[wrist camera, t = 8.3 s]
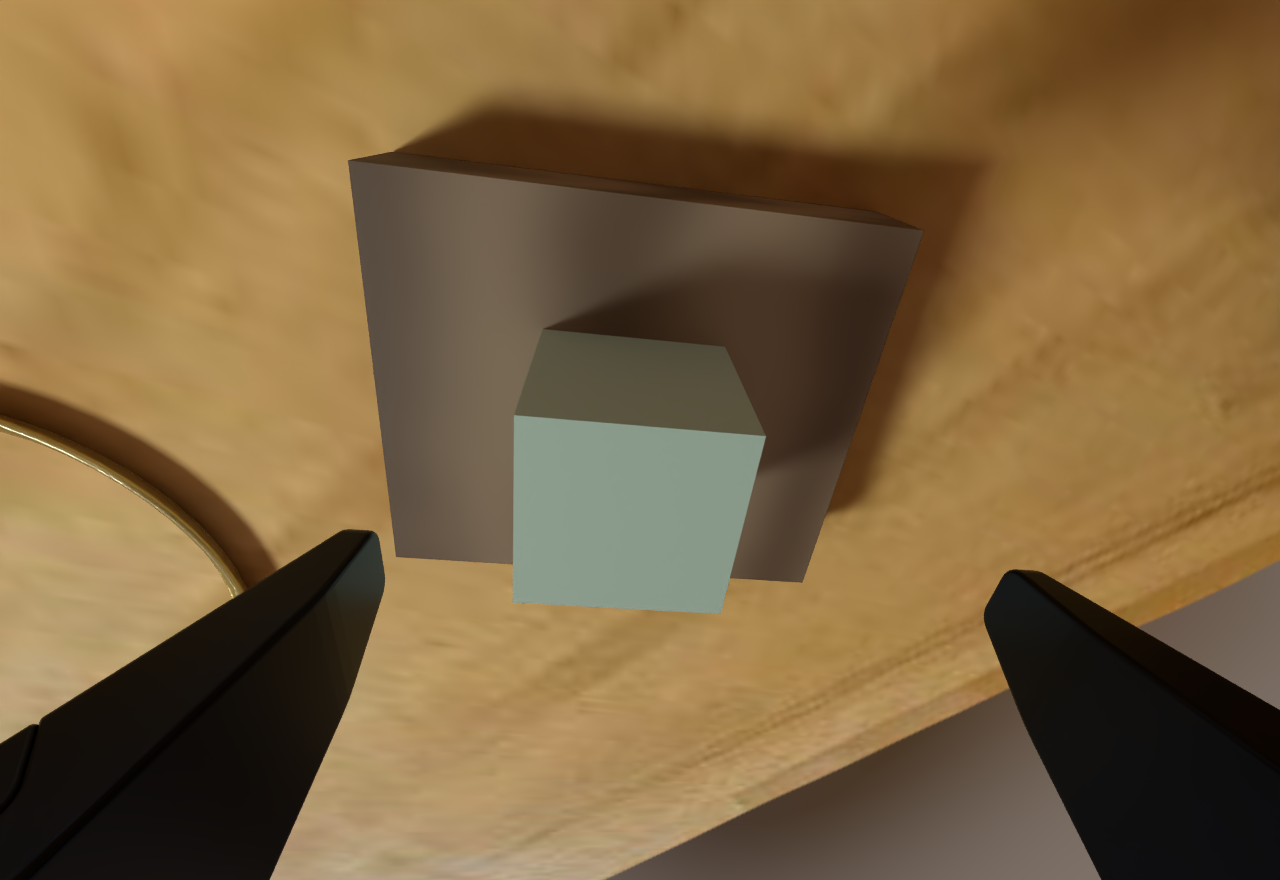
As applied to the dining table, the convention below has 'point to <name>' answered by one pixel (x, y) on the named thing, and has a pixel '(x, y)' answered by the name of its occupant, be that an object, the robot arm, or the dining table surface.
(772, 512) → the walnut block
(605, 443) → the sage cube
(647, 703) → the dining table surface
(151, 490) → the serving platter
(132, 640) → the dining table surface
